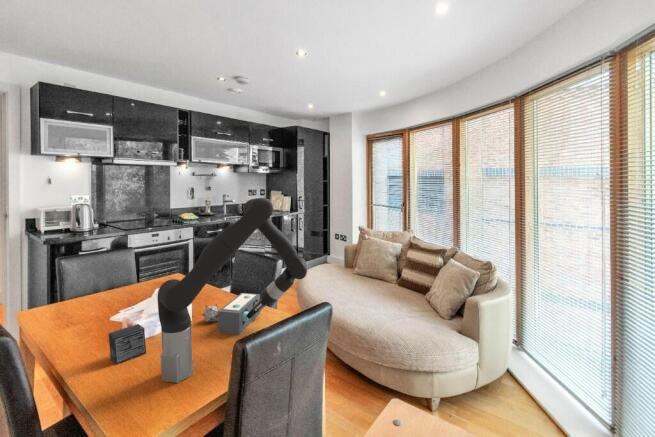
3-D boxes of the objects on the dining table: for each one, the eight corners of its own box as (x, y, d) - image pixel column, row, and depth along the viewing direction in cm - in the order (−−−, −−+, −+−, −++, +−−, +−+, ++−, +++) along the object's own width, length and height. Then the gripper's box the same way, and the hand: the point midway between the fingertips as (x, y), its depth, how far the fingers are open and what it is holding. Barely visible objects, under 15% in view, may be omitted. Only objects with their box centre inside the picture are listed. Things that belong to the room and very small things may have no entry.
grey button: (259, 312, 154) (259, 304, 153) (253, 312, 154) (253, 303, 154) (262, 309, 158) (262, 300, 158) (257, 308, 159) (257, 300, 158)
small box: (140, 347, 128) (138, 323, 126) (146, 353, 123) (145, 327, 122) (109, 358, 119) (107, 332, 118) (115, 365, 115) (113, 337, 114)
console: (239, 334, 139) (239, 311, 138) (218, 332, 141) (217, 309, 140) (260, 313, 163) (259, 292, 162) (241, 311, 164) (241, 291, 163)
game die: (213, 330, 151) (212, 319, 145) (198, 322, 152) (196, 311, 146) (224, 315, 158) (224, 304, 151) (210, 308, 159) (209, 297, 152)
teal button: (245, 323, 142) (244, 313, 142) (238, 322, 143) (238, 313, 142) (249, 319, 147) (248, 309, 146) (243, 318, 147) (242, 309, 147)
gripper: (272, 281, 147) (248, 305, 151) (262, 291, 134) (235, 316, 138) (283, 293, 147) (259, 316, 150) (274, 304, 134) (247, 329, 137)
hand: (248, 316), depth 144 cm, fingers closed
